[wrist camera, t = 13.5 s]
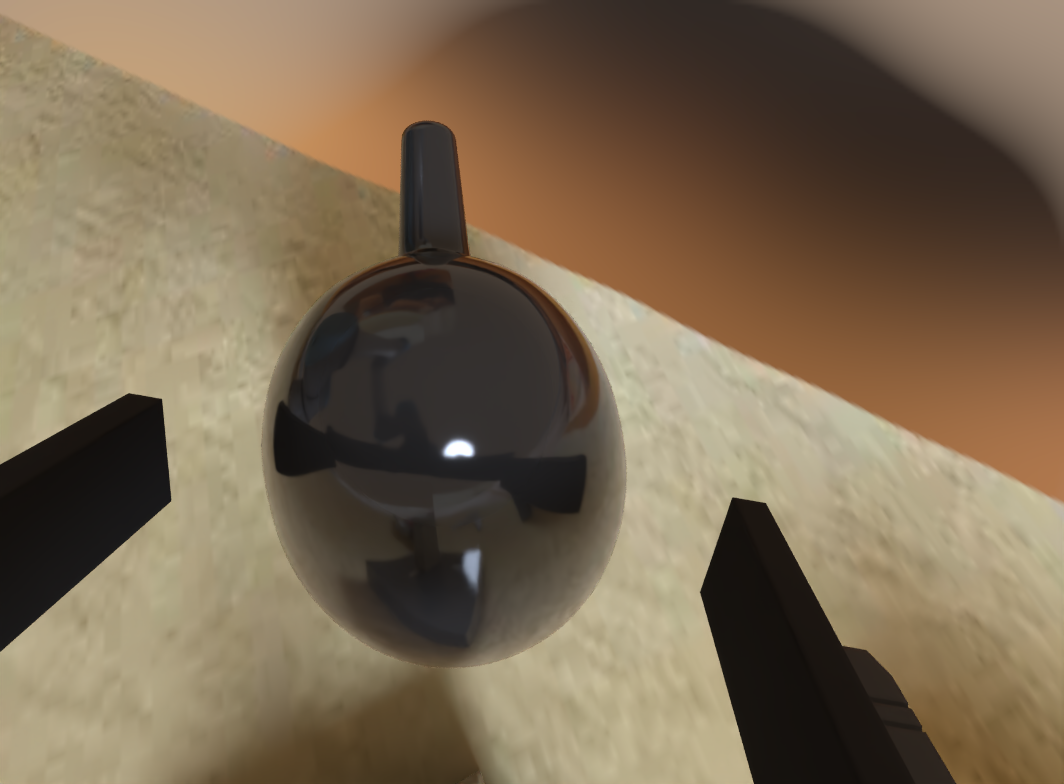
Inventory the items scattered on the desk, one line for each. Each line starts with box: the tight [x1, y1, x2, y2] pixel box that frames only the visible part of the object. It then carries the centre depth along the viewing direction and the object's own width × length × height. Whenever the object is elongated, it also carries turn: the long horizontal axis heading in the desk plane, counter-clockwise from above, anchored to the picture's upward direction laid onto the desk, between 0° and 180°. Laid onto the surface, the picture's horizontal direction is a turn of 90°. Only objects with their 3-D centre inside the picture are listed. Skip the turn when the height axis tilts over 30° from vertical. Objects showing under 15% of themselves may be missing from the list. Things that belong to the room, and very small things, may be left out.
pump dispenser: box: [261, 121, 627, 668], centre depth 16 cm, size 10×10×15 cm
